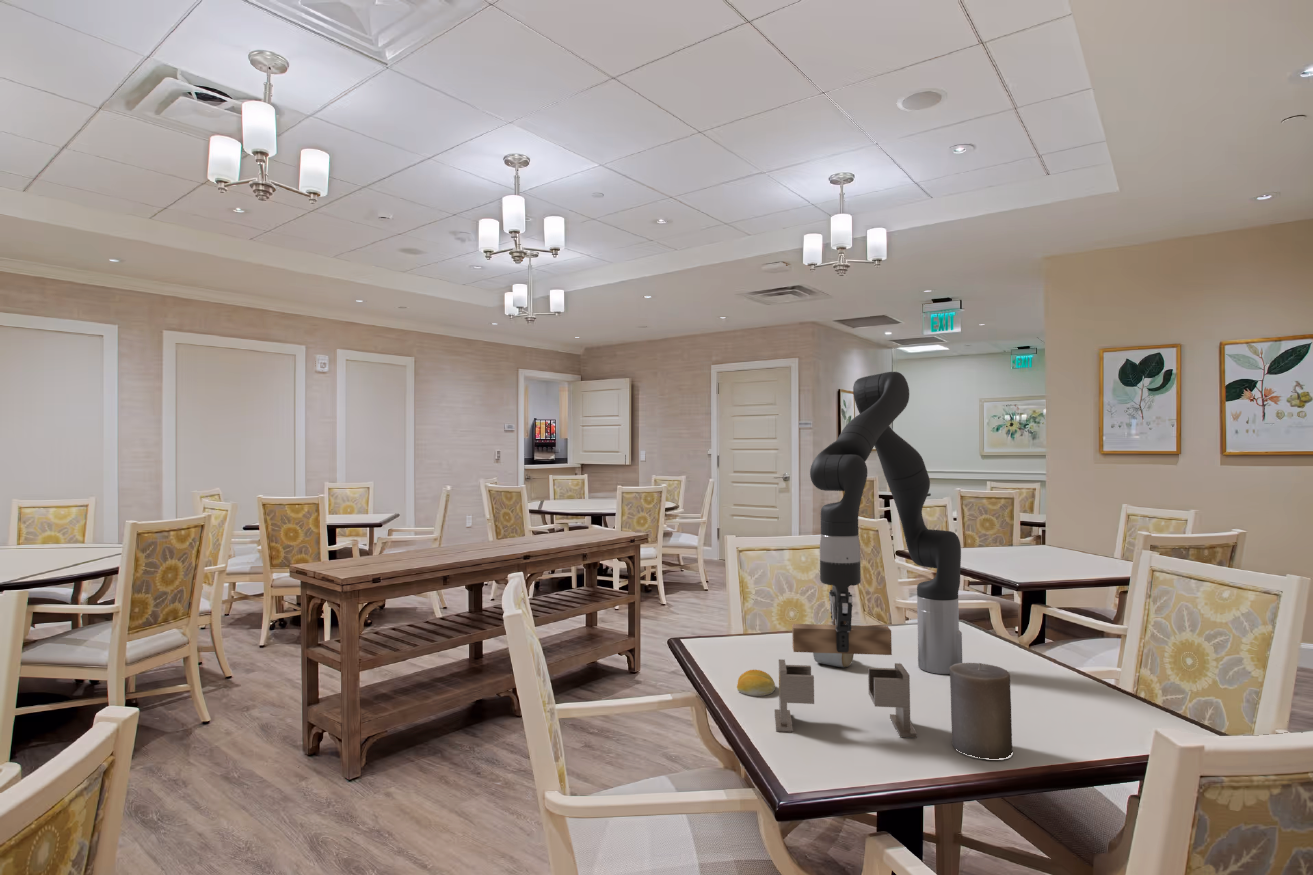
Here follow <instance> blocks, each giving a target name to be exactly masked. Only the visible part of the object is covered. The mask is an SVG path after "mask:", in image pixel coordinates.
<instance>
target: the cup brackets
mask: <svg viewBox="0 0 1313 875" xmlns="http://www.w3.org/2000/svg"><path fill="white" fill-rule="evenodd" d="M867 668H868V669H867V673H868V674H867V676H868V677H867V680H868V681H867V682H868V695H869V697H870V699H871V701H872V703H873V704H874V707H877V708H878V707H879V708H895V714H892V713H891V714H889V719H891V720H890V722H891V721H892V722H891V724H892V725H893V727H894V729H895V731H896V730H897V731H896V733H897V732H898V733H897V735H898V734H899V735H898V736H900V737H899V738H905V737H913V739H917V738H918V732H917V731H916V729H915V728H914V726H913V724H912V723H911V691H910V690H911V686H910V685H911V684H910V682H911V680H910V673H908V671H907V669H906V668H905V667H904V666H903V664H902V663H900V662H899V663H896V662H895V663H894V668H890V667H889V668H887V667H867ZM788 704H805V705H806V704H807V705H815V677H814V675H813V674H812V666H811V665H802V664H800V665H799V664H786V659H779V658H778V706H779V707H778V709H774V719H775V720H774V722H775V732H779V733H780V732H782V733H794V731H793V730H794V729H793V722H792V715H791V710H790V709H788ZM901 736H902V737H901Z"/></svg>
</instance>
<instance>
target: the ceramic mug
mask: <svg viewBox="0 0 1313 875" xmlns="http://www.w3.org/2000/svg"><path fill="white" fill-rule="evenodd" d="M854 655H855V654H841V653H812V656H813V659H814V662H816V663H818V664H822V665H827V666H832V667H836V668H848V667H849V666H851V664H852V662H853V659H854Z"/></svg>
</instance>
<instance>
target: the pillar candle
mask: <svg viewBox="0 0 1313 875" xmlns="http://www.w3.org/2000/svg"><path fill="white" fill-rule="evenodd" d="M949 669H950V674H949V681H950V683H949V684H950V687H949V688H950V712H951V713H950V715H951V716H950V719H951V723H950V724H951V743H952V747H953V748H954V750H956V749H957V750H958V751H960V752H962V753H965V754H967V755H972V756H975V757H978V758H979V757H980V758H989V759H999V758H1006V757H1008V756H1009V755H1011V753H1012V752H1013V753H1014V750H1013V737H1012V736H1013V731H1012V730H1013V729H1012V726H1013V725H1012V702H1011V701H1012V700H1011V699H1012V698H1011V695H1012V694H1011V693H1012V692H1011V676H1010V675H1011V674H1010V672H1009V671H1008V670H1007V669H1004V668H1003V667H1000V666H997V665H993V664H987V663H980V662H962V663H959V664H954V665H953V666H950V668H949ZM958 751H957V752H958Z"/></svg>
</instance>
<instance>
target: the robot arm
mask: <svg viewBox="0 0 1313 875" xmlns="http://www.w3.org/2000/svg"><path fill="white" fill-rule="evenodd" d="M852 391H853V400H854V402H855V405H856V408H857V411H858V413H859V414H857V415H856V416H855V417H853V418H852V419H851V420H850V421H849V422H848V423H847V424H846V425H845V426H844V427H843V429H842V431H840V434H839V436H838V437H837V439H836V440H835V441H833V442H832V443H830V444H829V445H828V446H827V447H826V448H824V449H822V450H821V451H820V452H819V453H818V454H817V455H816V456H815V458H814V460H812V463H811V465H810V470H809V475H810V476H809V477H810V481H811V483H812V484H813V486H814V487H815V488H816V489H818V490H821V491H826V492H827V491H829V492H832V491H833V492H844V494H843V496H842V498H841V500H840V501H837V502H832V503H831V502H830V503H826V504H824V505H823V506H822V507H821V508H820V540H819V580H820V583H822V584H823V585H827V586H831V588H832V589H829V590H830V591H828V599H829V611H830V618H831V625H836V627H835V630H836V649H837V651H838V652H848V651H849V632H850V631H851V629H852V628H851V625H852V619H853V616H852V613H853V605H854V604H853V595H852V594H851V592H850V591H849V587H850V586H853V587H854V586H855V587H856V586H858V585H859V584H860V583H861V581H862V579H861V577H862V576H861V545H860V538H859V515H860V514H859V512H860V507H861V501H862V497H863V494H864V490H865V487H866V483H867V478H868V466H867V463H866V461H867V460H868V458H869V457H870V454H871V453H872V450H874V448H875V451H876V453H877V456H878V459H879V462H880V465H881V468H882V471H883V474H884V477H885V480H886V483H887V485H888V488H889V491H890V493H891V495H892V498H893V501H894V504H895V507H896V510H897V514H898V516H899V520H900V523H901V527H902V530H903V531H902V532H903V534H904V539H905V543H906V548H907V551H908V554H909V556H910V558H911V560H912V561H913V563H914V564H916V565H917V566H919V567H924V568H929V569H930V568H931V569H936V573H935V577H934V578H933V579H930V580H925V581H921V582H919V583H918V584H917V586H916V599H917V600H916V604H917V605H916V607H917V609H916V610H917V616H916V617H917V662H918V663H917V664H918V665H917V666H918V668H919V669H920V670H922V671H924V672H929V673H931V674H939V675H940V674H941V675H950V669H949V668H950V666H953V665H954V664H959V663H963V633H962V631H961V630H960V625H959V624H960V623H959V622H960V621H959V619H960V616H959V614H960V613H959V612H960V611H959V590H960V585H961V564H962V561H961V560H962V547H961V541H960V538H959V536H958V535H957V534H956V533H955V532H954V531H949V530H942V529H931V528H928V527H927V526H926V524H925V521H924V517H923V508H924V504H925V502H926V500H927V496H928V495H929V492H930V487H931V480H930V476H929V473H928V471H927V467H926V464H925V461H924V459H923V457H922V456H921V454H920V453H919V452H918V450H917V449H916V448H914V447H913V446H912V445H911V444H910V443H908V441H907V440H905V439H904V438H902V437H901V436H900V435H899V434H897V433H896V431H894V430H893V428H891V424H893V422H894V421H895V420H896V419H897V418H898V416H900V415H901V414H902V412H903V411H904V410H906V408H907V406H908V403H909V401H910V388H909V385H908V382H907V379H906V377H905V376H904V374H902V373H900V372H899V371H886V372H881V373H878V374H871V375H867V376H863V377H860V378H858V379H856V380H855V381H854V383H853V387H852Z"/></svg>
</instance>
